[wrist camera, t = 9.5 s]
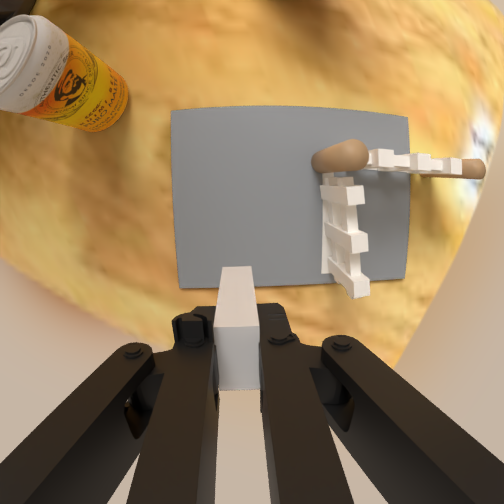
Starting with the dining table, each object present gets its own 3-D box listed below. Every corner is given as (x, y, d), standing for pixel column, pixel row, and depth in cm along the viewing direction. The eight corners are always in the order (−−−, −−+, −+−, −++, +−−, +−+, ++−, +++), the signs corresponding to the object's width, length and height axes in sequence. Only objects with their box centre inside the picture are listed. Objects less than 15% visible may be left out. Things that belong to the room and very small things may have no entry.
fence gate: (318, 178, 25) (345, 177, 18) (332, 177, 25) (362, 176, 18) (328, 276, 27) (354, 306, 20) (341, 274, 27) (370, 302, 20)
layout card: (180, 286, 28) (179, 288, 27) (172, 111, 24) (170, 110, 24) (402, 277, 28) (405, 278, 28) (405, 117, 25) (408, 117, 24)
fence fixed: (310, 173, 26) (339, 169, 18) (309, 150, 25) (339, 137, 17) (430, 179, 26) (485, 182, 18) (430, 160, 26) (485, 157, 17)
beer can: (112, 141, 25) (4, 116, 10) (67, 122, 24) (-42, 96, 9) (142, 83, 23) (60, 11, 9) (95, 67, 23) (3, 8, 8)
